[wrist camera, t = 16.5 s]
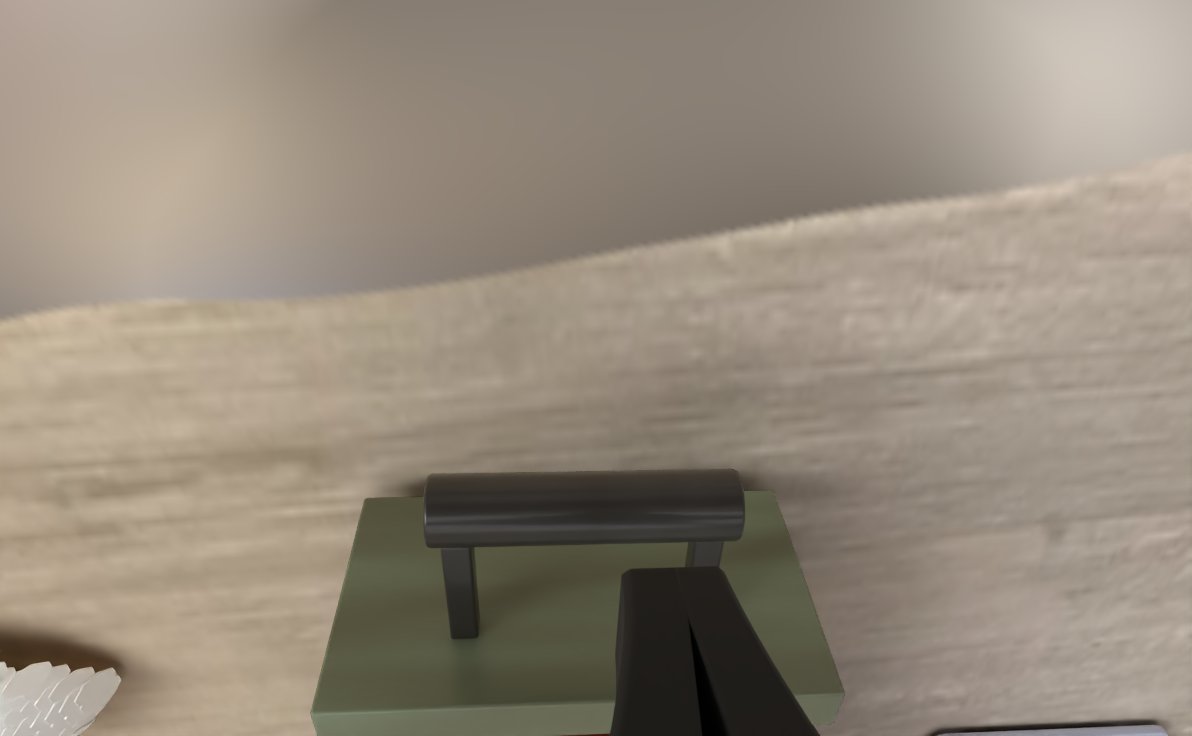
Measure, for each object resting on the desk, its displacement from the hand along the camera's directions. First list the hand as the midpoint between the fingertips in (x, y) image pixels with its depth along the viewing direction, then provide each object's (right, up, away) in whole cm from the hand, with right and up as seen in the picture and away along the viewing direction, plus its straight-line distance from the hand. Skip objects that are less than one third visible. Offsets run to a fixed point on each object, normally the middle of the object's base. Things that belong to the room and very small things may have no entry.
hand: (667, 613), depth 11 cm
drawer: (-2, -3, +12) cm, 12 cm away
